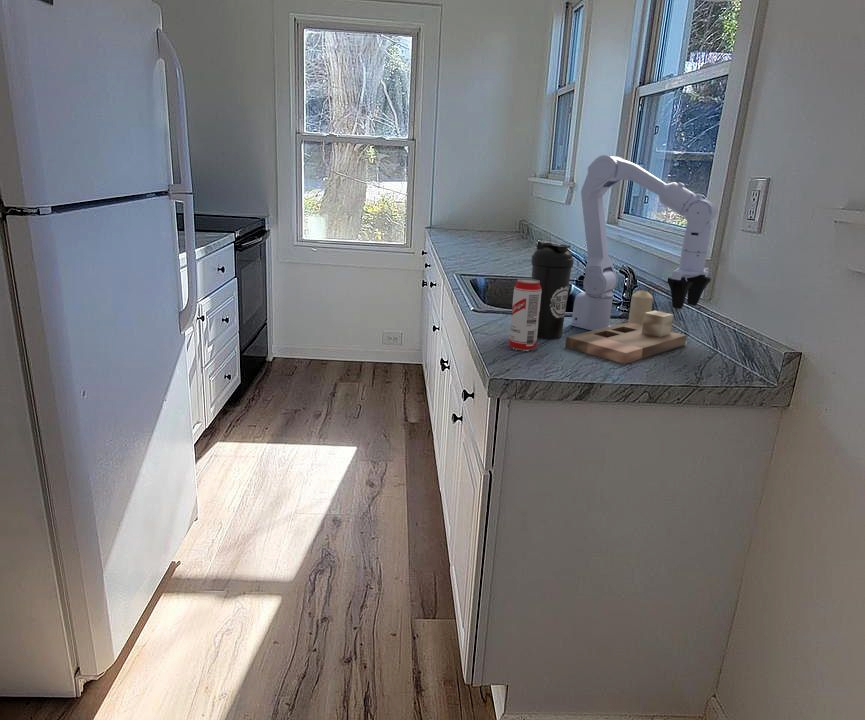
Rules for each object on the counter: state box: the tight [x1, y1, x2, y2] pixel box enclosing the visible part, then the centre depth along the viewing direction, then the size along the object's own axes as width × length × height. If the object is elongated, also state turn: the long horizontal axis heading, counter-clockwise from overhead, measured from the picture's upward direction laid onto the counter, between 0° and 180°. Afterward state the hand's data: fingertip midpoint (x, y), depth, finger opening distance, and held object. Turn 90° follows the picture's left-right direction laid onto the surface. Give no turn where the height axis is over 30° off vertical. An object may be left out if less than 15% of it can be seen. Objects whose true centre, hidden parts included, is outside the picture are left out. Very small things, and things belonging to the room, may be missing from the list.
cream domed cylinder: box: [627, 289, 654, 325], centre depth 177 cm, size 6×6×10 cm
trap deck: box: [565, 321, 687, 365], centre depth 158 cm, size 16×28×2 cm, turn 133°
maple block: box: [642, 310, 674, 337], centre depth 161 cm, size 5×5×5 cm
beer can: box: [508, 278, 542, 351], centre depth 149 cm, size 6×6×16 cm
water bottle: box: [530, 241, 575, 340], centre depth 162 cm, size 10×10×23 cm
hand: (684, 306), depth 161 cm, fingers open, 7 cm apart
